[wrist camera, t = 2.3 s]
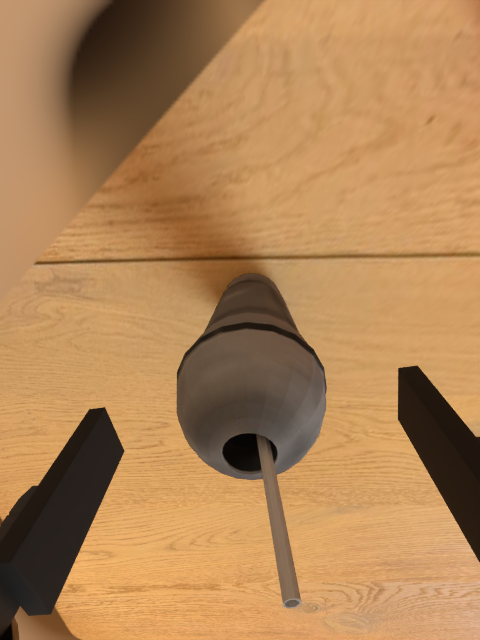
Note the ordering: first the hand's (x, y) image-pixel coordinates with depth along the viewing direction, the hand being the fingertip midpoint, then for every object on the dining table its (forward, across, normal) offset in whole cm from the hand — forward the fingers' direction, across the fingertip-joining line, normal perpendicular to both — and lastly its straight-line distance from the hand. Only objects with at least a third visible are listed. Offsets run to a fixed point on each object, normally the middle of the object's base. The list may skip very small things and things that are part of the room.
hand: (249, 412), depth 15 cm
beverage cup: (+13, 0, 0) cm, 13 cm away
